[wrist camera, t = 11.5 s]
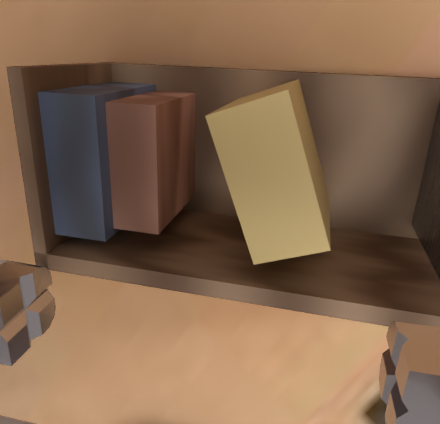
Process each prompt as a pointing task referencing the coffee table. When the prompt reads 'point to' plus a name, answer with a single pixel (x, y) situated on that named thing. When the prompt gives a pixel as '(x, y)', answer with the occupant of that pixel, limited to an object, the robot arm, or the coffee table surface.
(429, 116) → the shelf
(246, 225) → the book
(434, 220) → the bookend
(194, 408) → the coffee table surface
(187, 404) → the coffee table surface
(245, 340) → the coffee table surface
